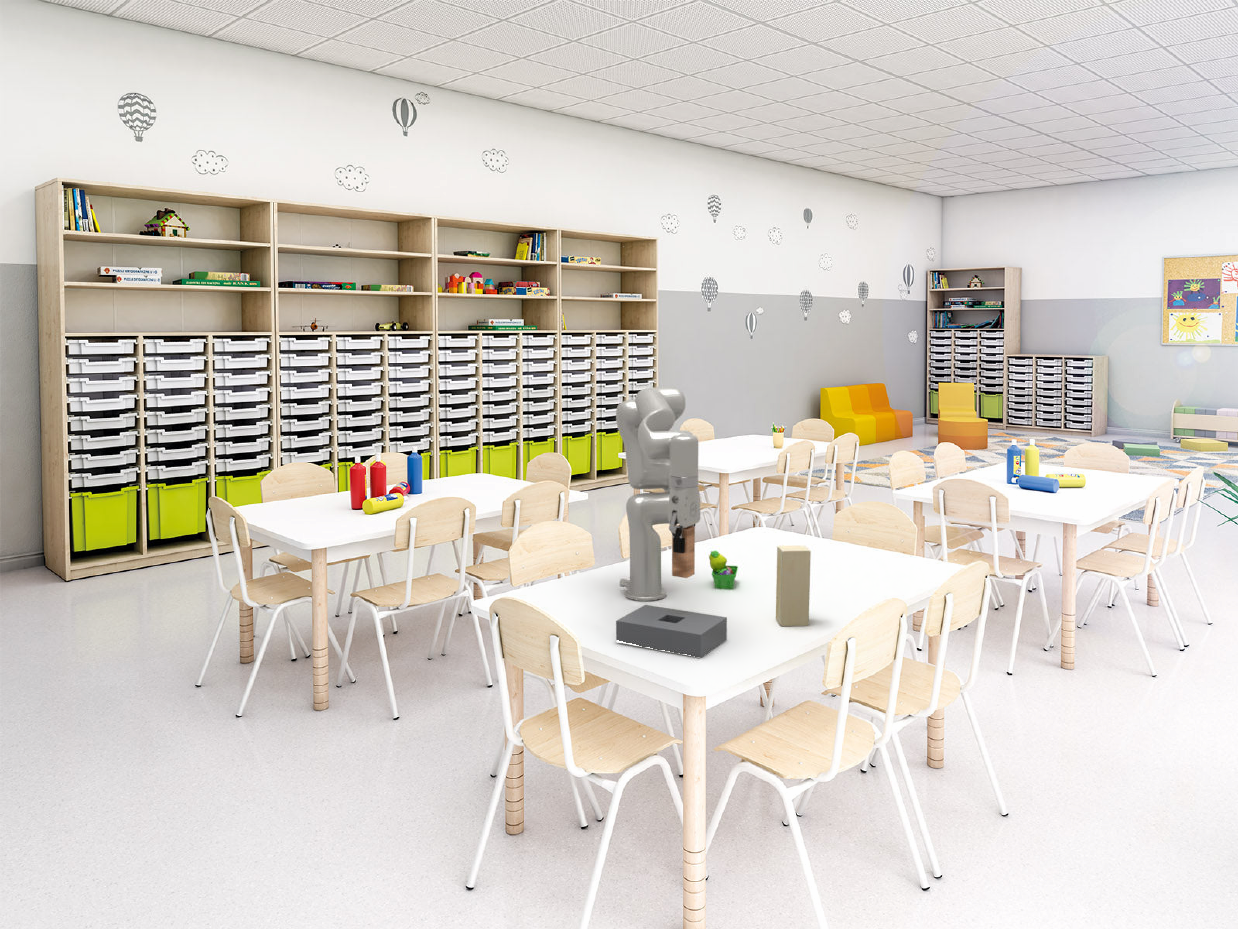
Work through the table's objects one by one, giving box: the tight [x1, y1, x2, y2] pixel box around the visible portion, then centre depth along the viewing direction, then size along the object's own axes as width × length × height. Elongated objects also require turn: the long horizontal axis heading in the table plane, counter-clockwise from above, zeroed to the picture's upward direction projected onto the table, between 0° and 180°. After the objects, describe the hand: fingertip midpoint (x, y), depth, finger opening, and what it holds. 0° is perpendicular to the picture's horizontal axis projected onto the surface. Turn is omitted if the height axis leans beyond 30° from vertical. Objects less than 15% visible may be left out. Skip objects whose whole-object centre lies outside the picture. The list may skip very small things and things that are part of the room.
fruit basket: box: [708, 550, 739, 590], centre depth 291 cm, size 11×9×11 cm
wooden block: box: [671, 524, 696, 579], centre depth 242 cm, size 4×4×13 cm
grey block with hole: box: [615, 604, 728, 658], centre depth 238 cm, size 24×16×6 cm, turn 60°
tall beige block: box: [775, 545, 812, 627], centre depth 252 cm, size 8×7×21 cm
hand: (683, 549), depth 242 cm, fingers closed on wooden block, 4 cm apart
